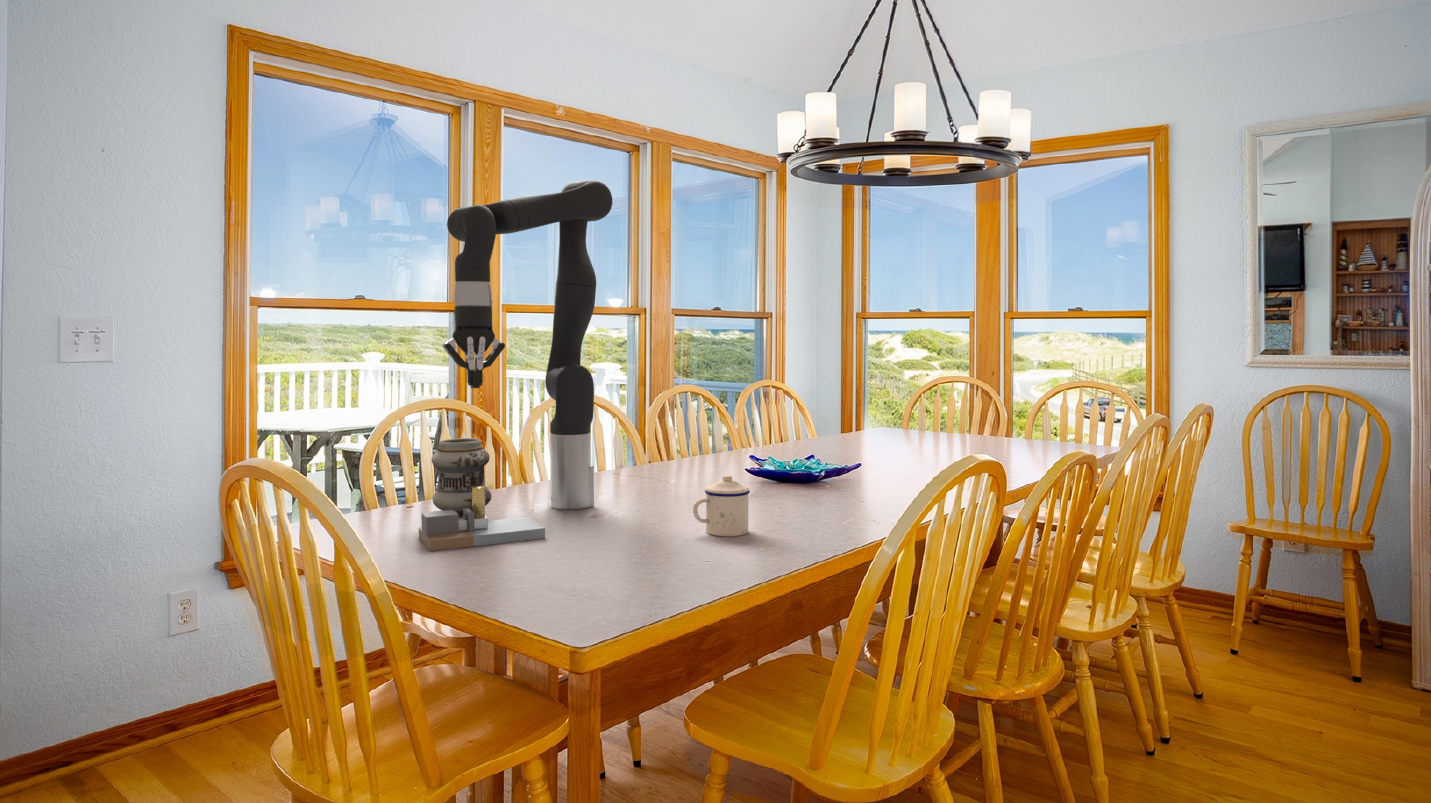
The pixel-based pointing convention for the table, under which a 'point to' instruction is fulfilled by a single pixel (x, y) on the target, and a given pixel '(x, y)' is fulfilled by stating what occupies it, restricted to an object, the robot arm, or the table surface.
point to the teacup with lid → (725, 508)
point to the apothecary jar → (459, 473)
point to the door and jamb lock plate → (474, 530)
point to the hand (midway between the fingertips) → (475, 387)
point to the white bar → (476, 510)
